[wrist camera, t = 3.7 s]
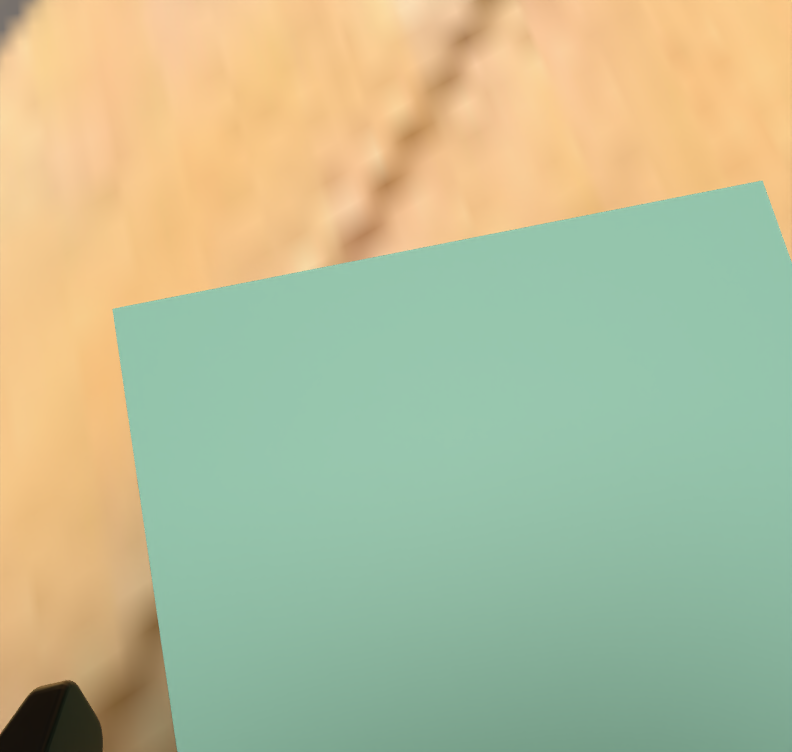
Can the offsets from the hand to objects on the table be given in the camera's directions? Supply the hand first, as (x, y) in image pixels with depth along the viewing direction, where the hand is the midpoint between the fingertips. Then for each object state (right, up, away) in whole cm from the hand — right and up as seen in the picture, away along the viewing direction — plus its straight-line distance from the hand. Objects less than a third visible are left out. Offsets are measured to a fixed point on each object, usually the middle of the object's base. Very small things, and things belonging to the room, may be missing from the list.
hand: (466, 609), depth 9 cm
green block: (0, -1, +8) cm, 9 cm away
